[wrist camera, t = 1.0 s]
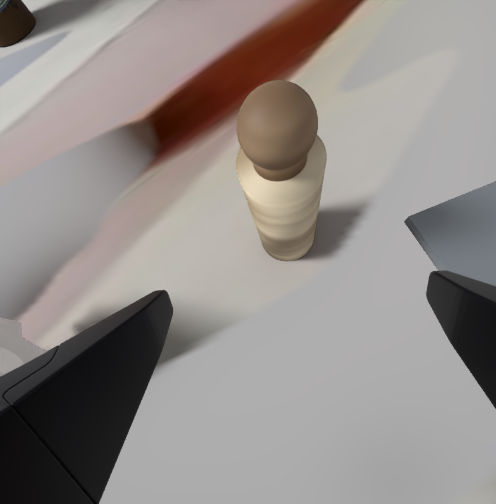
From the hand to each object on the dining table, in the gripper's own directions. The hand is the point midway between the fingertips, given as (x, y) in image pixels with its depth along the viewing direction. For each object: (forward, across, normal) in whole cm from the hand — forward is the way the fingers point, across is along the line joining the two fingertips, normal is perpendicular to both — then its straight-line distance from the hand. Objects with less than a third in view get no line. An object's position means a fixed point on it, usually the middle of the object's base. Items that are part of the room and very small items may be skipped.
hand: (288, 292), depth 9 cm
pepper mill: (+15, 0, +4) cm, 16 cm away
